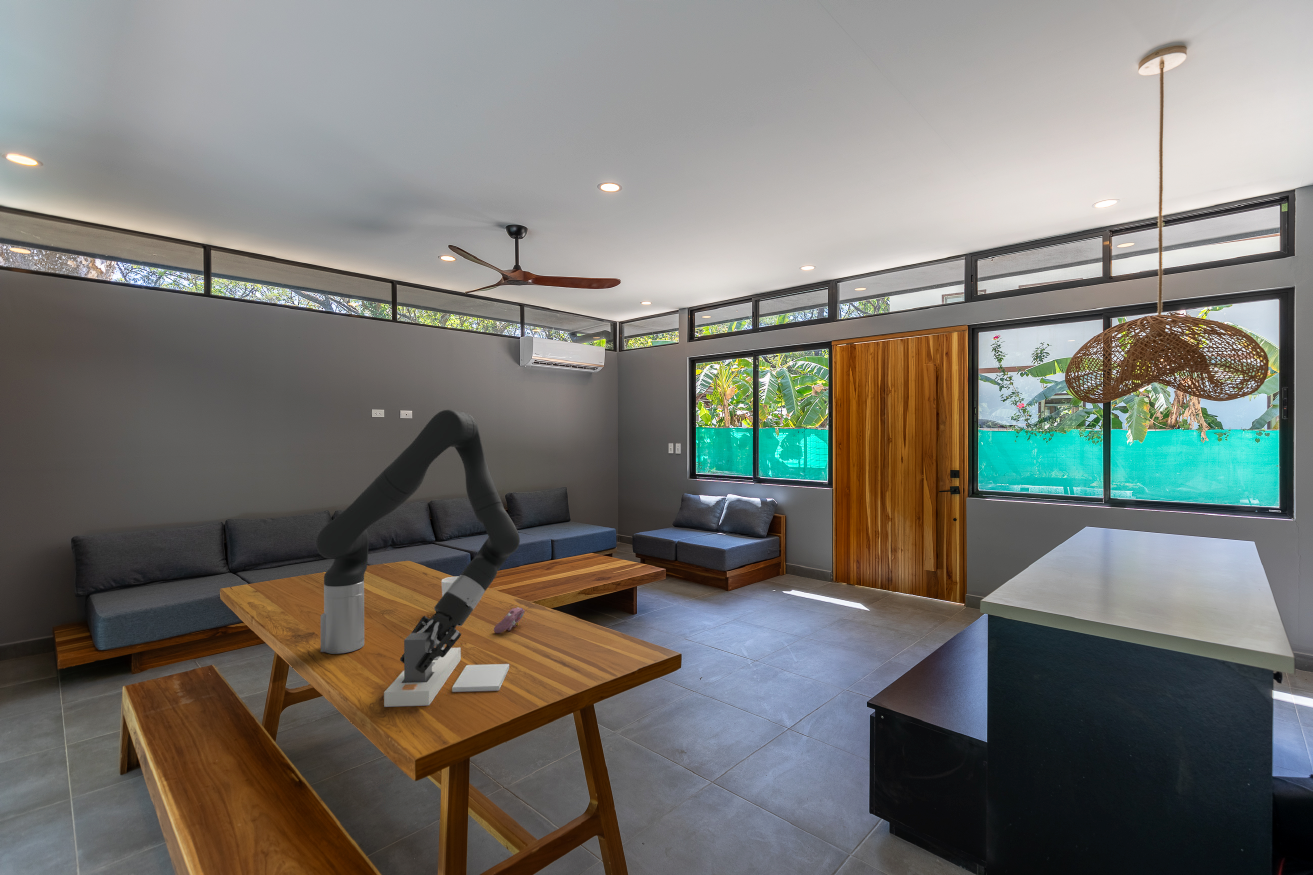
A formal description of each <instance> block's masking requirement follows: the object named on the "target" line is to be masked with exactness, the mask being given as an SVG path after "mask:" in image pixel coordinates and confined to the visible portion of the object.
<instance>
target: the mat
mask: <svg viewBox="0 0 1313 875" xmlns="http://www.w3.org/2000/svg"><path fill="white" fill-rule="evenodd" d="M509 669H510V663H501V664H500V663H498V664H497V663H492V664H466V666H465V667H464V668H463V670H462V672H461V673H460V675H459V676H458V678H457V679H456V681H455V682H454V684H453V686H452V687H451V692H452V693H456V692H457V693H460V692H463V693H464V692H492V691H493V692H494V691H500V689H501V686H502V684H503V682H504V680H505V678H506V676H507V674H508V671H509Z"/></svg>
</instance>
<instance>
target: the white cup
mask: <svg viewBox="0 0 1313 875" xmlns="http://www.w3.org/2000/svg"><path fill="white" fill-rule="evenodd" d="M459 576H460V575H459ZM459 576H450V577H445V578H442V579H441V598H442V597H443V595H444V594H445V593H446V591H447V590H448V589H449V587H450V586H451V585H452V583H453V582H454V581H455V580H456V579H457V578H458V577H459Z"/></svg>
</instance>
